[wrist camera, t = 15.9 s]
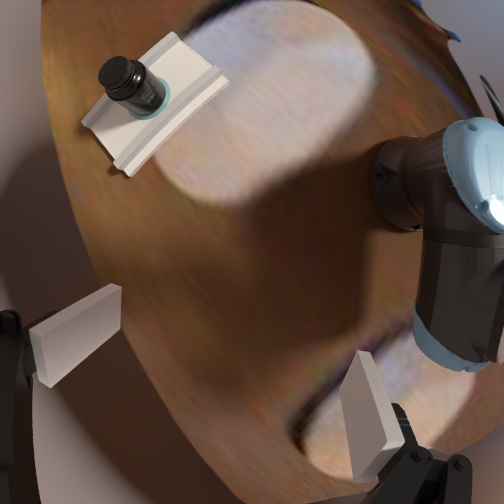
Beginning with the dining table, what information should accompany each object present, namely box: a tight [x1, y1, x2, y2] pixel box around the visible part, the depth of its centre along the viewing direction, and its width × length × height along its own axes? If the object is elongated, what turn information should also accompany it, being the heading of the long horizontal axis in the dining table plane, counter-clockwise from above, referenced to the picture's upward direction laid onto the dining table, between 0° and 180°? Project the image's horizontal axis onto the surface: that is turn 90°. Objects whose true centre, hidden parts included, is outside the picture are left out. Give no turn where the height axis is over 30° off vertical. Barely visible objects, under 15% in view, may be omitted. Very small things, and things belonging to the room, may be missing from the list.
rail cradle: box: [81, 32, 230, 177], centre depth 40 cm, size 22×16×3 cm
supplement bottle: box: [98, 56, 166, 116], centre depth 35 cm, size 7×7×12 cm
